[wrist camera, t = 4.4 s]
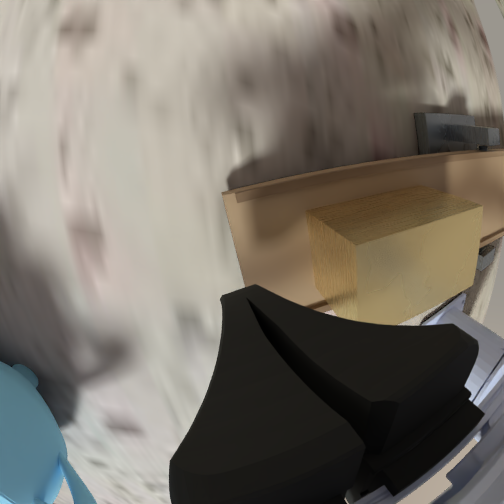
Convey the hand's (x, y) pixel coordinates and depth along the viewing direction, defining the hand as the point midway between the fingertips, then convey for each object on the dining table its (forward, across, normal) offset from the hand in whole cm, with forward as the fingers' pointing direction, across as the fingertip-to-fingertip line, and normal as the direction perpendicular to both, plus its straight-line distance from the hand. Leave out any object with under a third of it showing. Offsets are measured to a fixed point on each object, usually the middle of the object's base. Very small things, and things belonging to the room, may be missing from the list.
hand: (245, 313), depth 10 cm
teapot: (+5, +19, +4) cm, 20 cm away
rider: (+2, -8, 0) cm, 8 cm away
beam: (+1, -19, 0) cm, 19 cm away
